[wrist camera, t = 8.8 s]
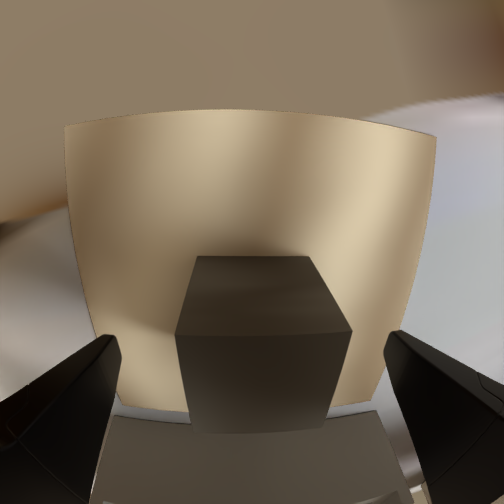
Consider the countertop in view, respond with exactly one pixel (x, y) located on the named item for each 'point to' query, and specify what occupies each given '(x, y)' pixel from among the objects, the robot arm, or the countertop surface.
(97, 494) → the box
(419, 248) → the cover plate
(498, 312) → the countertop surface
